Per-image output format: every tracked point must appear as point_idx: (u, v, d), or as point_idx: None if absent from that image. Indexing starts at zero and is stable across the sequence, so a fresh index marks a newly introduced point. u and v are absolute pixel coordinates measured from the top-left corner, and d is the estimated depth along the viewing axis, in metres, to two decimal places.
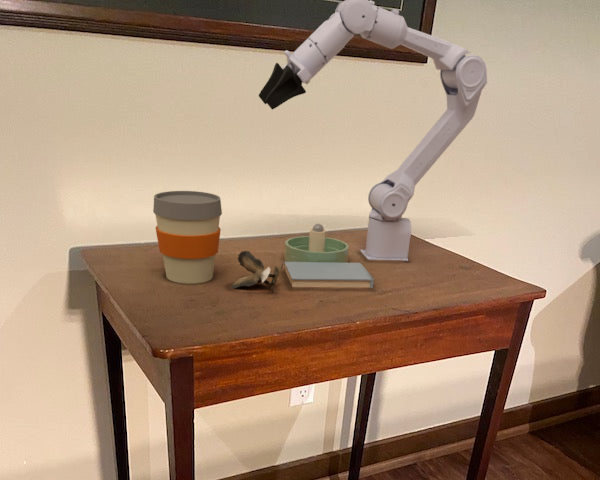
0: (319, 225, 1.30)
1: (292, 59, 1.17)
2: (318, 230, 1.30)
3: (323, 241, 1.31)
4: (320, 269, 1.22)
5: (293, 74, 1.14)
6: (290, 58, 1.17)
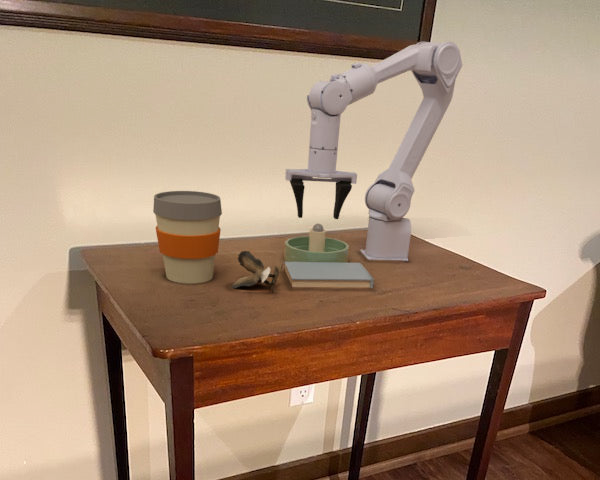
0: (319, 225, 1.30)
1: (333, 176, 1.24)
2: (318, 230, 1.30)
3: (323, 241, 1.31)
4: (320, 269, 1.22)
5: None
6: (330, 176, 1.23)
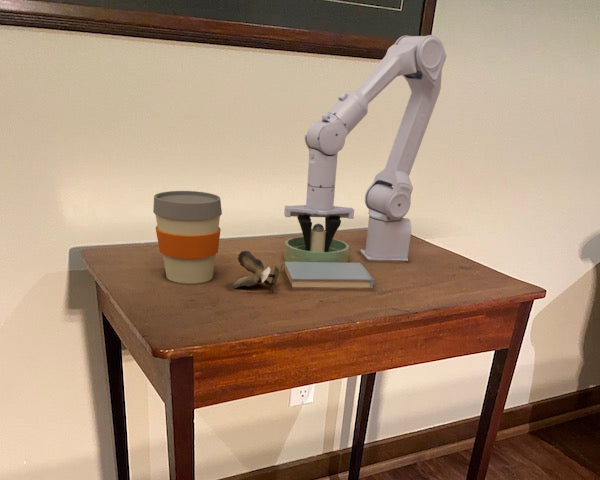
0: (319, 225, 1.30)
1: (331, 212, 1.27)
2: (318, 230, 1.30)
3: (323, 241, 1.31)
4: (320, 269, 1.22)
5: None
6: (328, 213, 1.27)
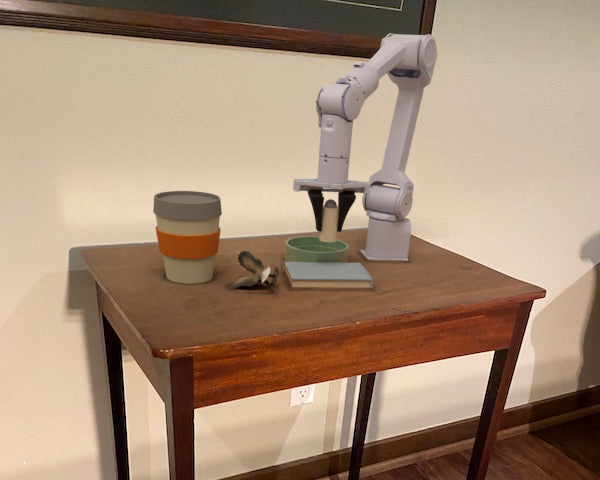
0: (332, 201, 1.17)
1: (345, 186, 1.14)
2: (331, 206, 1.17)
3: (336, 219, 1.18)
4: (320, 269, 1.22)
5: None
6: (342, 187, 1.14)
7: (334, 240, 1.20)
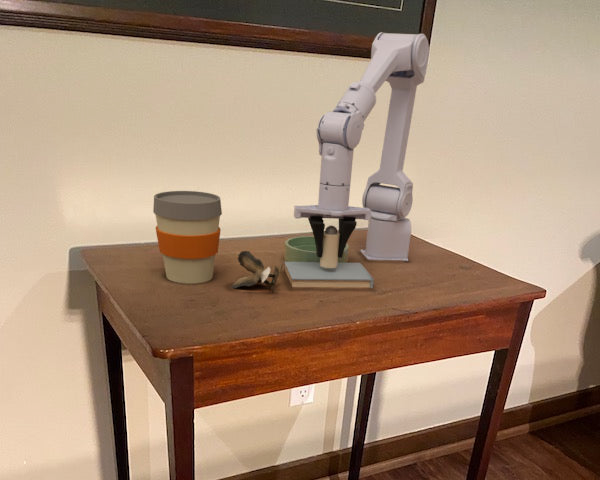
0: (332, 227, 1.17)
1: (346, 213, 1.14)
2: (331, 233, 1.17)
3: (337, 245, 1.18)
4: (320, 269, 1.22)
5: None
6: (343, 214, 1.14)
7: (335, 266, 1.20)
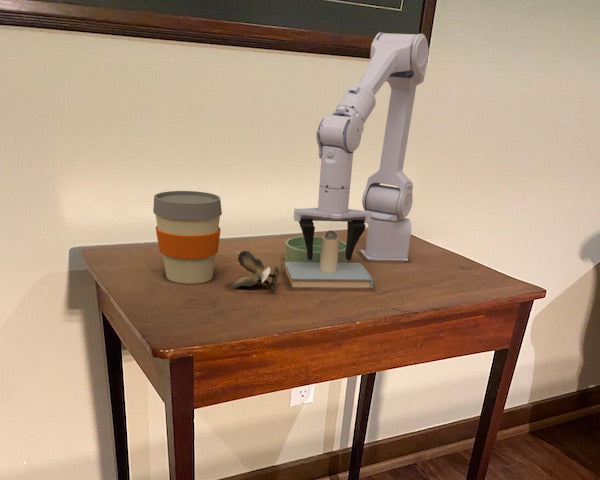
0: (332, 232, 1.18)
1: (346, 216, 1.15)
2: (331, 238, 1.18)
3: (336, 250, 1.19)
4: None
5: None
6: (342, 217, 1.14)
7: (334, 270, 1.21)
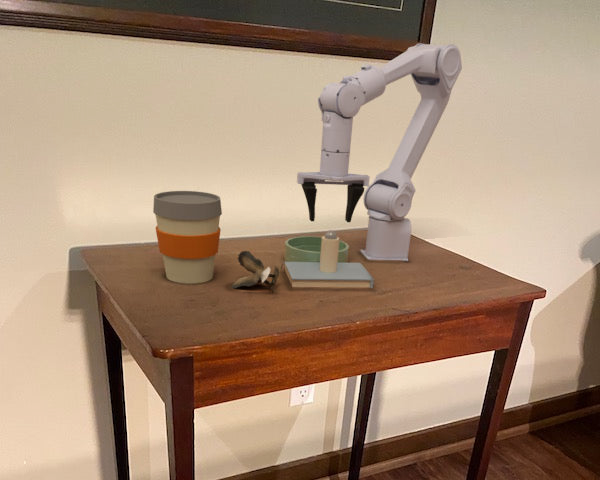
0: (332, 232, 1.18)
1: (346, 179, 1.22)
2: (331, 238, 1.18)
3: (336, 250, 1.19)
4: None
5: None
6: (343, 179, 1.22)
7: (334, 270, 1.21)
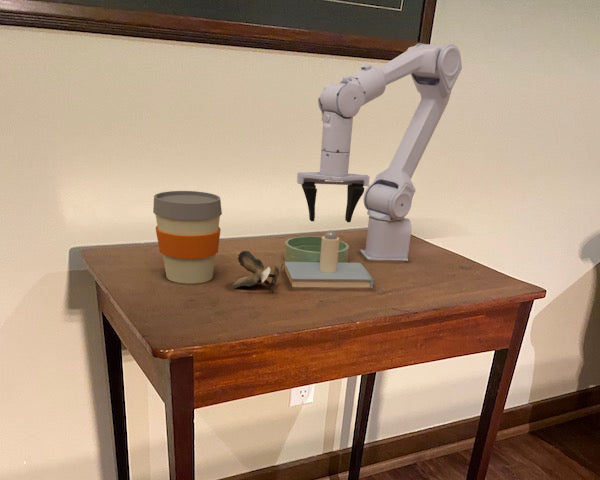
0: (332, 232, 1.18)
1: (346, 179, 1.22)
2: (331, 238, 1.18)
3: (336, 250, 1.19)
4: None
5: None
6: (343, 179, 1.22)
7: (334, 270, 1.21)
